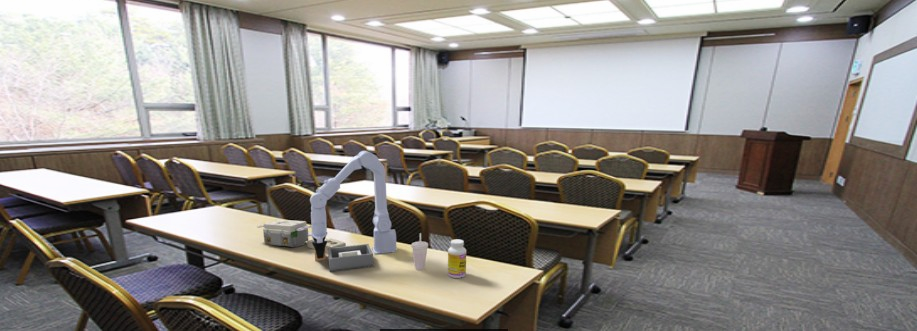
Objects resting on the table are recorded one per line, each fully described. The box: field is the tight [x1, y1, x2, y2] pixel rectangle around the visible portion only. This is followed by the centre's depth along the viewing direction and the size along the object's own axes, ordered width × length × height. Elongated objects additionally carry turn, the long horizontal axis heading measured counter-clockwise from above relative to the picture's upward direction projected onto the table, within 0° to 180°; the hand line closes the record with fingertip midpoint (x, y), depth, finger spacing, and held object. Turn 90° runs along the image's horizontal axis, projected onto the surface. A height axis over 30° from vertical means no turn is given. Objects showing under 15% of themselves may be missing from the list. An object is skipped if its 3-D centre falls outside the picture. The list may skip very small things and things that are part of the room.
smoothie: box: [411, 232, 429, 271], centre depth 144 cm, size 6×6×14 cm
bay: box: [327, 243, 374, 273], centre depth 149 cm, size 16×13×5 cm
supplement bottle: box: [447, 238, 467, 279], centre depth 138 cm, size 7×7×13 cm
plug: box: [314, 249, 327, 262], centre depth 154 cm, size 4×4×7 cm
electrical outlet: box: [306, 238, 347, 255], centre depth 166 cm, size 7×4×18 cm
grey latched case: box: [256, 219, 312, 248], centre depth 173 cm, size 12×28×10 cm, turn 65°
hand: (320, 254), depth 154 cm, fingers open, 7 cm apart
